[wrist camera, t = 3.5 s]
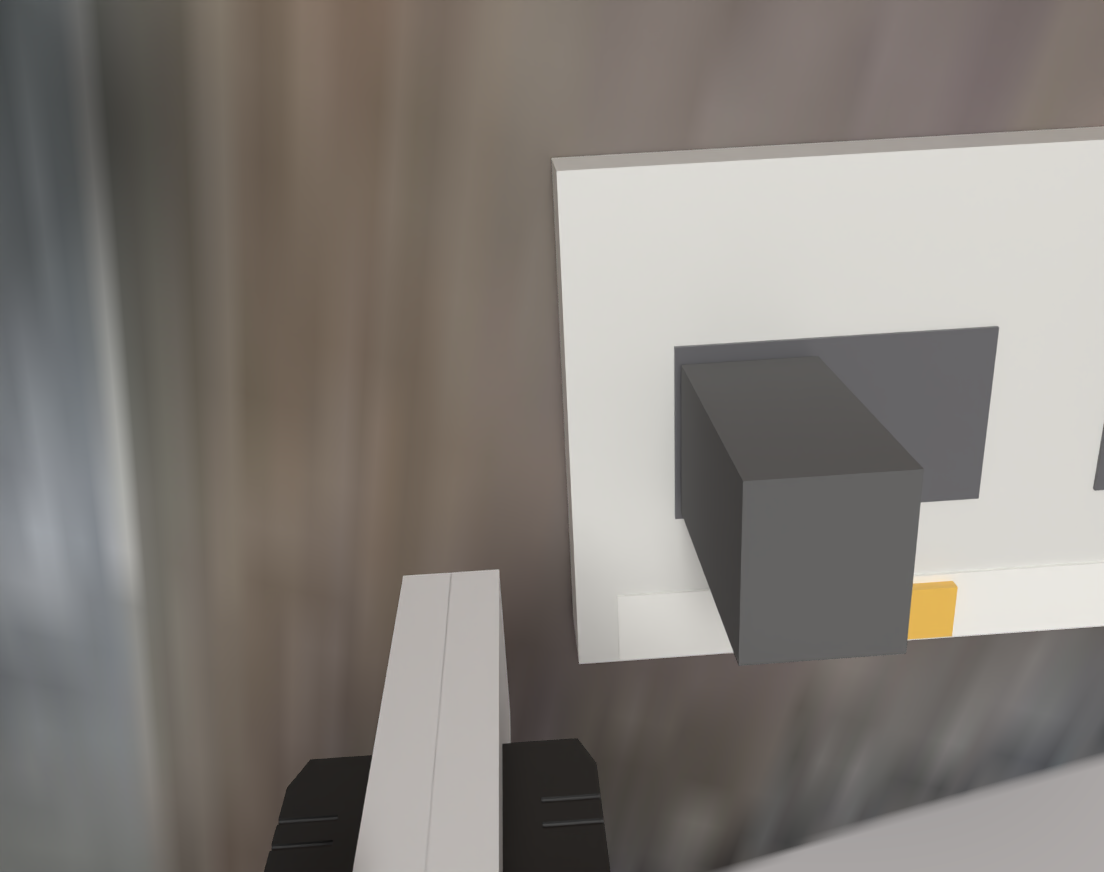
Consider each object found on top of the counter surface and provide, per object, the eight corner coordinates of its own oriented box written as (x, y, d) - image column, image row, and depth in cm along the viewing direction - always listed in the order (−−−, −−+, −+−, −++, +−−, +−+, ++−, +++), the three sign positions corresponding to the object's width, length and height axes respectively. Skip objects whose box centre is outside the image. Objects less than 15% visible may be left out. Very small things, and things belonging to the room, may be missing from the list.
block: (681, 512, 24) (738, 665, 18) (681, 364, 23) (743, 481, 17) (810, 504, 24) (905, 653, 18) (817, 356, 23) (923, 469, 17)
